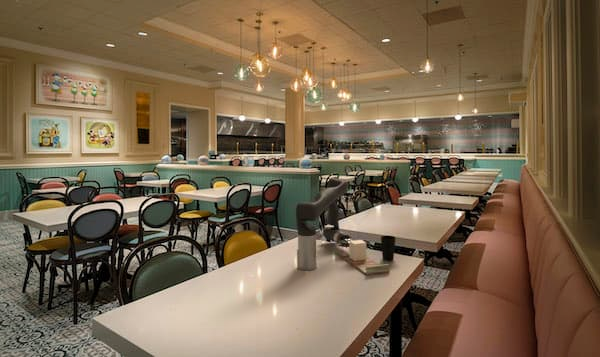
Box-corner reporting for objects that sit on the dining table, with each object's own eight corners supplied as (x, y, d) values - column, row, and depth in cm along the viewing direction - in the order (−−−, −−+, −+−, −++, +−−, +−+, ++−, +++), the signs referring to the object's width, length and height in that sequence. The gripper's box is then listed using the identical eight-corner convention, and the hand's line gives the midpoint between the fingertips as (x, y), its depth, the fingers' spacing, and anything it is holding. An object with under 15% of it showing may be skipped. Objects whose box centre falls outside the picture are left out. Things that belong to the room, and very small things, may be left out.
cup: (397, 261, 183) (397, 239, 182) (382, 261, 183) (382, 239, 182) (393, 256, 190) (393, 235, 189) (379, 257, 191) (379, 235, 189)
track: (341, 257, 191) (341, 250, 191) (361, 255, 194) (361, 248, 194) (366, 275, 163) (366, 267, 163) (389, 272, 167) (389, 264, 166)
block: (349, 257, 187) (349, 241, 186) (361, 256, 189) (361, 239, 189) (354, 260, 182) (354, 244, 181) (366, 259, 184) (366, 242, 183)
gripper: (331, 233, 202) (343, 241, 186) (352, 231, 206) (366, 239, 189) (331, 246, 203) (344, 255, 186) (352, 244, 207) (366, 252, 190)
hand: (355, 247), depth 188 cm, fingers closed
